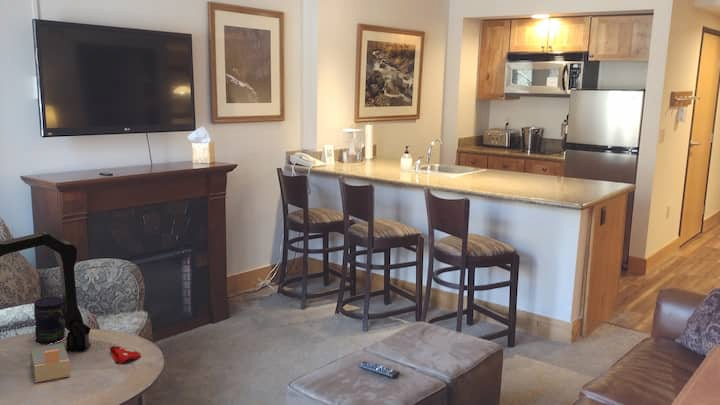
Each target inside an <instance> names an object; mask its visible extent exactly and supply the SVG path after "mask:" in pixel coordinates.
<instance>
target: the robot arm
mask: <svg viewBox="0 0 720 405" xmlns="http://www.w3.org/2000/svg"><path fill="white" fill-rule="evenodd" d="M41 246H46V247H48V248H49V249H51V250H53V254H54V256H55V260H56V263H57V264H58V266H59V272H60V282H61V294H62V298H63V308H62V310H59V311H58V315H59V319H58V321H59V322H60V323H61V324H62V325H63V326H64V327H65V330H67V331H68V332H67V335H66V336H65V340H66V344H65V345H66V348H65V349H66V352H75V351H79V352H80V351H82V353H83V352H84V353H85V351H87V350H88V349H89V348H90V346H91V345H92V344H91V343H90V340H89V339H90V338H89V336H90V335H89V334H90V332H91V327H89V325H87V324H86V323H84V318H83V315H82V314H81V310H80V309H79V306H78V298H77V288H76V287H77V286H76V274H75V266H76V263H77V261H78V260H77V259H78V248H77V247H76V246H75V245H74V244H72V243H71V242H69V241H67V240H59V239H57V238H55V237H54V236H52V235H51V234H50V233H48V232H46V231H40V232H37V233H33V234H28V235H23V236H19V237H15V238H10V239H6V240H3V241H2V240H0V258H1V257H4V256H5V255H8V254H12V253H16V252H19V251H20V252H21V251H25V250H28V249H33V248H37V247H41ZM79 352H78V353H79ZM80 353H81V352H80Z"/></svg>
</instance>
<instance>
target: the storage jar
mask: <svg viewBox="0 0 720 405" xmlns="http://www.w3.org/2000/svg"><path fill="white" fill-rule="evenodd" d="M33 305H34V307H33V312H34V315H33V317H34V319H35V329H34V330H35V331H34V335H35V343H36V342H37V343H36V344H38V343H39V344H38V345H41V344H50V343H55V342H57V341H60V340H62V339H63V338H64V337H65V338H66V336H65V334H66V333H65V332H66V328H65V327H64V326H63V325H62V324H61V323H60V322H59V321H58V319H59V315H58V311H59V310H62V308H63V297H59V296H46V297H41V298H39V299H36V300H35V301H34V302H33Z"/></svg>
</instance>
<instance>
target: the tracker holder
mask: <svg viewBox="0 0 720 405" xmlns="http://www.w3.org/2000/svg"><path fill="white" fill-rule="evenodd" d="M121 347H122V346H121V345H117V344H112V345H111V346H109V347H108V348H109V349H110V351H109V352H110V354H111V356H112V358H113V360H114V362H115V363H117V364H123V363H125V361H127V360H131V359H133V360H134V359H140V358H141V353H140V352H139V351H137V350H136V349H134V348H129V347H124V348H121Z"/></svg>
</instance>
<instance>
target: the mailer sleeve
mask: <svg viewBox="0 0 720 405" xmlns="http://www.w3.org/2000/svg"><path fill="white" fill-rule="evenodd" d="M57 349H59V361H61V360H67V359H69V360H70V358H69V355H68V351H66V349H67V348H66V347H65V345H64V343H63V342H62V343H61V342H60V343H56V344H51V345H44V346H43V345H41V346H38V347H37V346H35V347H30V350H29V352H30V366H31V371H32V375H33V380H34V381H35V368H34V365H39V364H44V363H45V351H51V350H57Z"/></svg>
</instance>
